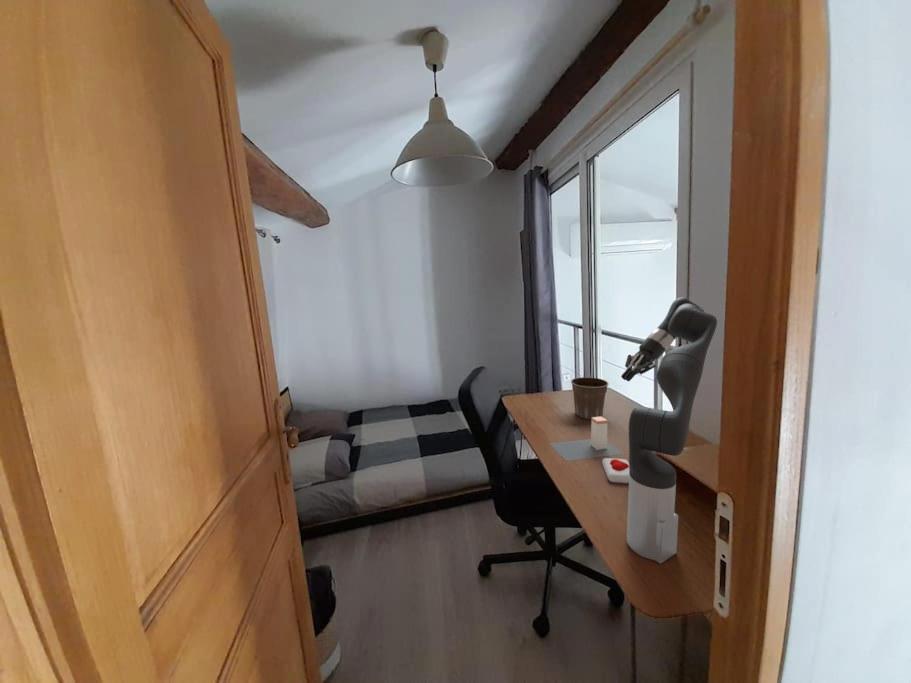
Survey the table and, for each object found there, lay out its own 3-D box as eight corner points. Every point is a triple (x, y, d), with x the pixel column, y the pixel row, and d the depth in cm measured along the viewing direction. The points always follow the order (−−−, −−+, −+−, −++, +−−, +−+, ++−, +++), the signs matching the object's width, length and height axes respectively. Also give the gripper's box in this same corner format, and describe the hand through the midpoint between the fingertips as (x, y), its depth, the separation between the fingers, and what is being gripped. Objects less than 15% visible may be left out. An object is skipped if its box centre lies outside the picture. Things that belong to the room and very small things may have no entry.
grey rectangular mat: (601, 438, 137) (601, 437, 137) (624, 455, 123) (624, 453, 123) (549, 445, 134) (549, 443, 134) (566, 462, 120) (566, 460, 120)
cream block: (600, 443, 132) (601, 416, 130) (606, 448, 128) (607, 420, 126) (591, 445, 131) (591, 417, 129) (596, 449, 127) (597, 421, 125)
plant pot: (609, 423, 152) (610, 387, 150) (570, 420, 157) (570, 385, 155) (606, 410, 167) (606, 378, 165) (570, 407, 173) (571, 376, 170)
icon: (644, 473, 104) (609, 470, 107) (644, 486, 105) (608, 483, 107) (633, 454, 116) (601, 452, 118) (632, 466, 117) (601, 464, 119)
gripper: (637, 334, 133) (607, 368, 133) (663, 339, 119) (630, 377, 120) (649, 347, 134) (619, 380, 134) (676, 353, 121) (643, 390, 121)
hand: (624, 379), depth 127 cm, fingers closed
